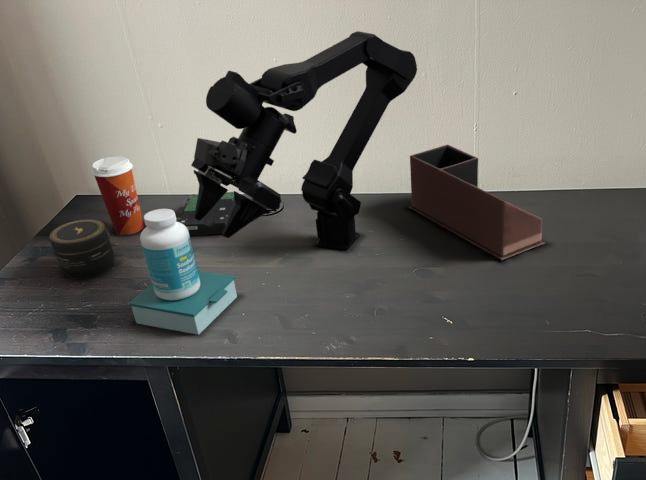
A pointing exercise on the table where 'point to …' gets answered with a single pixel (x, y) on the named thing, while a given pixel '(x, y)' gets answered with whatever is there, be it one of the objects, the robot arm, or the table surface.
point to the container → (186, 305)
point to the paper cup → (119, 193)
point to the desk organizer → (469, 204)
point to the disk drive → (207, 215)
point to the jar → (82, 248)
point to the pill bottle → (169, 256)
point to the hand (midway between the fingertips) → (210, 227)
